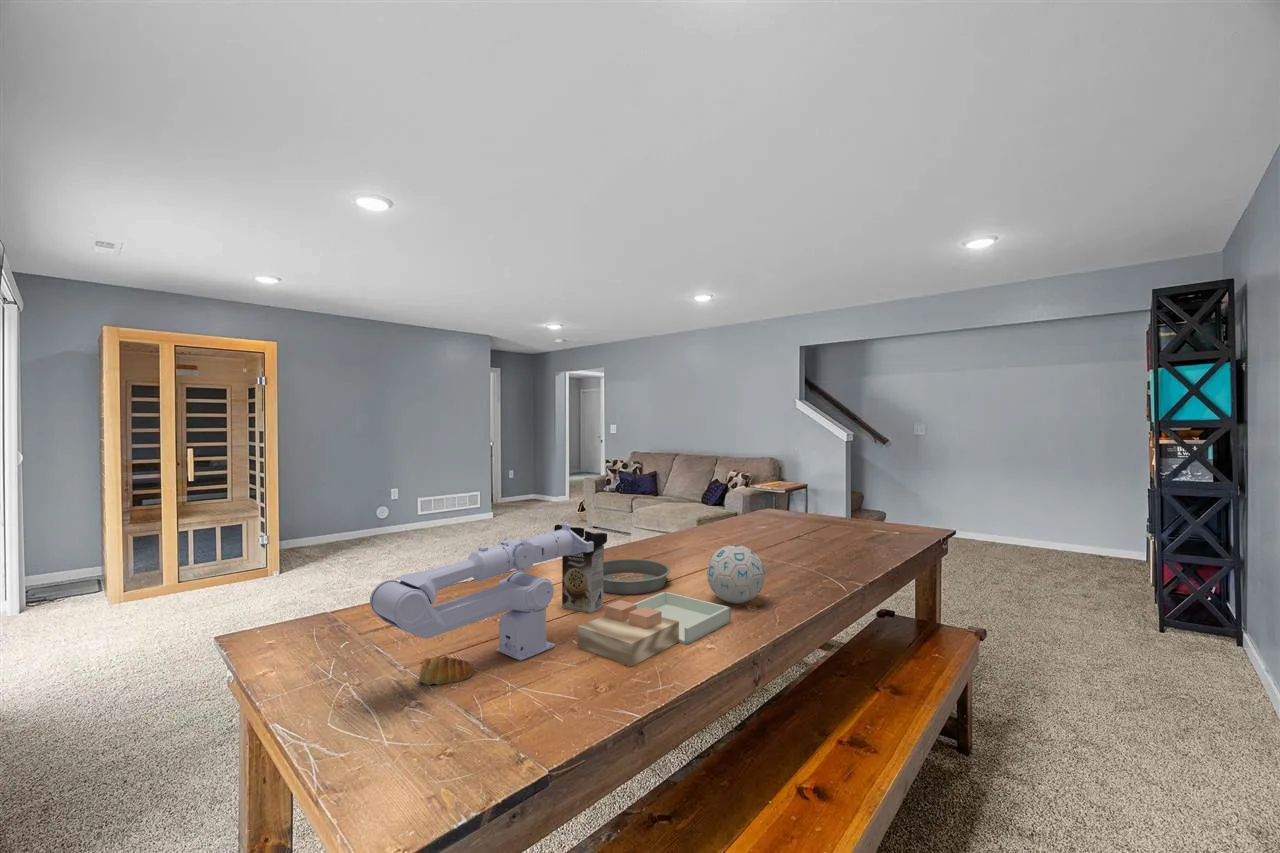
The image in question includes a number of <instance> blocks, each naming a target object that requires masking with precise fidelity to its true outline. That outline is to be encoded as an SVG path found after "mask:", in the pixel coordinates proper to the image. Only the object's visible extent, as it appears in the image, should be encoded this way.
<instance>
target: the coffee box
mask: <svg viewBox="0 0 1280 853" xmlns="http://www.w3.org/2000/svg"><path fill="white" fill-rule="evenodd" d="M604 550H605V544H603V545H602V546H600V547H599V548H598V549H597V550H596V551H595V553H594V554H593V556H591V557H586V556H583V552H581V553H577V554H573V555H569V556H562V562H561V563H562V566H561V567H562V568H561V569H562V571H561V574H562V575H561V576H562V577H561V578H562V580H561V583H562V584H561V586H562V587H561V588H562V590H561V592H562V593H561V599H562V600H561V607H562V608H563V609H566V610H572V611H577V612H582V613H589V614H592V613H594V612H595V611H598V610H600V609H601V608H603V607H604V591H603V565H604V561H605V560H604V559H605V558H604V557H605V555H604V554H605V552H604Z"/></svg>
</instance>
